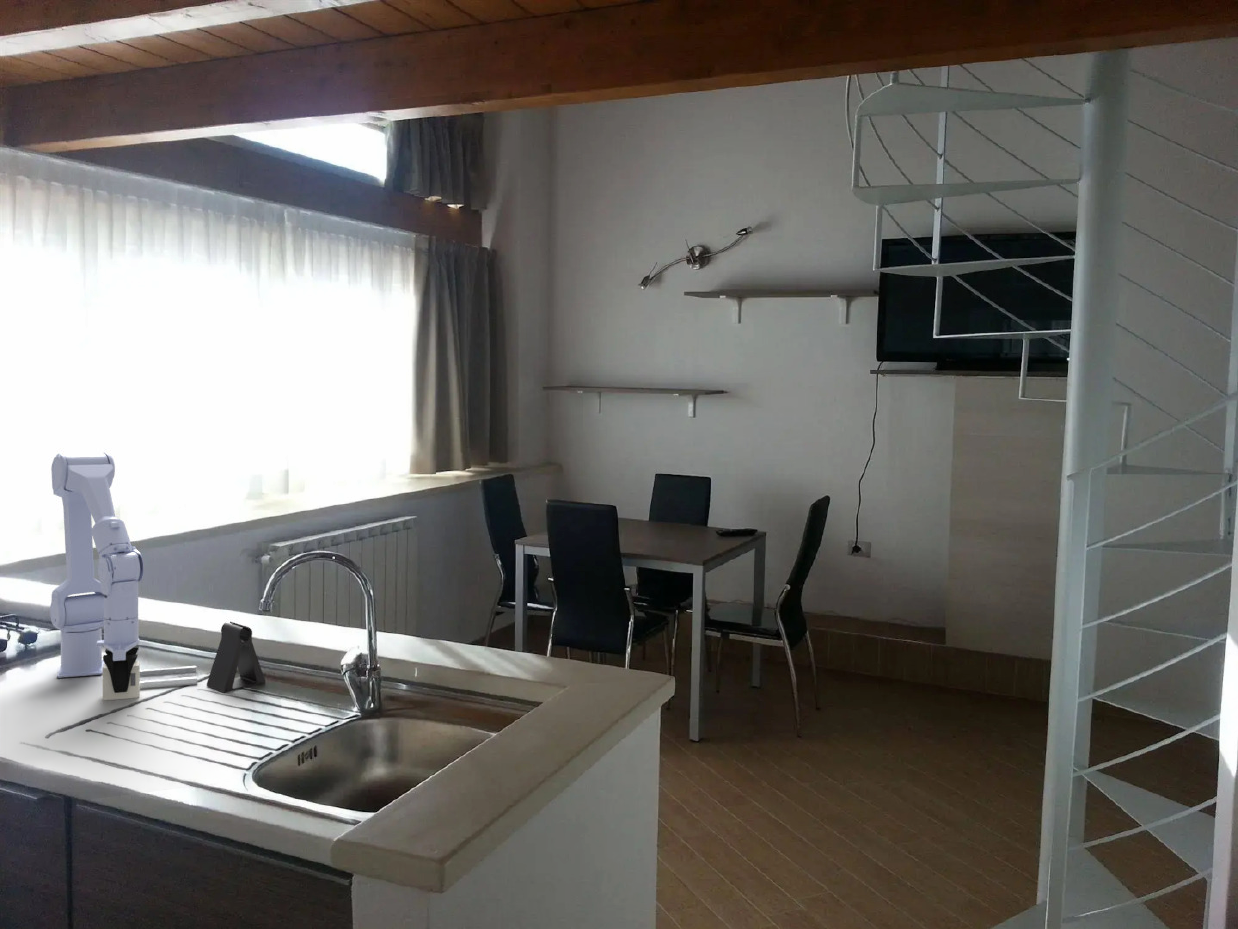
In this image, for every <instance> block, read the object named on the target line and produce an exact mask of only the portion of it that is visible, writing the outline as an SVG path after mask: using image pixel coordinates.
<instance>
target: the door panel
mask: <svg viewBox="0 0 1238 929" xmlns="http://www.w3.org/2000/svg"><path fill="white" fill-rule="evenodd" d="M140 665H141V662H140V660H136V661H135V663H134V665H133V667H132V670H131V675H130V681H129V686H128V690H127V692H120V693H115V692H114V689H113V686H112V681H111V676H110V673H109V670H108V668H107V666H106V664H105V663H104V665H103V674H102V701H113V700H114V701H115V700H124V699H136V698H140V694H139V693H140V691H141V689H140V670H141V669H140V668H141V667H140Z"/></svg>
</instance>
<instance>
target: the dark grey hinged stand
mask: <svg viewBox="0 0 1238 929" xmlns="http://www.w3.org/2000/svg"><path fill="white" fill-rule="evenodd" d="M220 634H221V636H220V638H221V639H220V641H219V645H218V648H217V651H216V654H215V657H214V659H213V663H212V667H211V668H210V669H211V670H210V672H209V675H208V679H207V682H206V687H208V688H210V689H213V690H215V691H219V692H221V693H224V694H226V693H230V692H235V691H238V690H243V689H245V688H251V687H254V686H255V687H256V686H258V685H263V684H265V683H266V678H265V675H264V673H263V670H262V667H261V664H260V661H259V659H258V655H257V652H256V650H255V646H254V644H253V640H252V639H253V638H252V637H253V630H252V628H250V627H249V626H246V625H242V624H239V623H235V622H233V621H230V622H229V623H228V622H224V623H223V624H222V626H221V628H220ZM237 669H238V673H239V676H238V677H236V674H237Z"/></svg>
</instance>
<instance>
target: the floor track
mask: <svg viewBox="0 0 1238 929" xmlns="http://www.w3.org/2000/svg"><path fill="white" fill-rule="evenodd" d="M191 685H193V686H194V685H198V675H197V665H190V666H189V665H188V666H187V665H185V666H176V667H175V666H174V667H162V668H151V669H150V668H149V669H140V690H143V689H144V690H145V689H158V688H168V687H178V686H179V687H180V686H181V687H182V686H191Z"/></svg>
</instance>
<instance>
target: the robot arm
mask: <svg viewBox="0 0 1238 929" xmlns="http://www.w3.org/2000/svg"><path fill="white" fill-rule="evenodd" d="M50 470H51V486H52V490H53V495H55V496H57V497H60V498H61V500H62V506H63V524H64V527H63V528H64V545H65V547H64V548H65V565H66V579H65V580H64V581H63V582H62V583H61V584H59V585H58V586H56V587H55V588H54V590H52V592H51V602H50V607H49V616H50V620H51V624H52V625H53V627H54V628H55V629H57V630H59V631H60V667H59V668H58V672H57V674H56V678H59V679H60V678H70V677H71V678H75V677H86V676H87V677H88V676H98V675H99V676H101V675H103V665H104V663H105V664H106V666H107V668H108V670H109V673H110V676H111V681H112V686H113V689H114V692H115V693H120V692H127V690H128V686H129V681H130V675H131V670H132V667H133V665H134V663H135V661H137V659H138V654H137V653H138V651H139V648H140V646H139V645H140V642H141V640H140V638H139V582H140V581H142V580H143V578H144V574H145V563H144V559H143V556H142V553H141V552H140V551H139V550H138V549H137V547H136V546H132V543H131V540H130V536H129V534H128V531H127V528H126V525H125V522H124V521H123V520H121V519H119V518H117V517H116V513H115V508H114V504H113V500H112V498H113V497H112V493H111V490H110V488H111V487H112V484H113V481H114V477H115V475H116V474H115V473H116V466H115V461H114V458H113V457H112V455H111V454H110V453H108V452H103V453H72V454H71V453H68V454H67V453H66V454H63V453H58V454H56V455H55V457H54V458H53V460H52V463H51V468H50ZM92 519H93V521H94V525H93V526H92V524H93V523H92ZM93 543H94V544H93ZM94 546H95V547H96V548H95V549H96V551H97V555H98V558H99V561H98V565H97V574H98V578H99V580H98V579H96V578H95V566H94V563H95V562H94ZM87 593H88V594H87ZM102 628H103V631H102ZM102 636H103V638H102ZM103 647H104V648H105V650H104V653H105V654H102V652H103V651H102V650H103Z"/></svg>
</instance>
